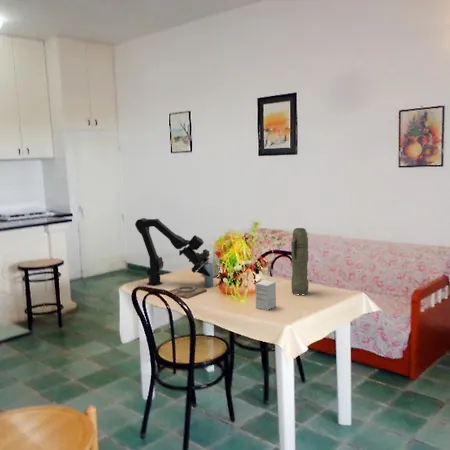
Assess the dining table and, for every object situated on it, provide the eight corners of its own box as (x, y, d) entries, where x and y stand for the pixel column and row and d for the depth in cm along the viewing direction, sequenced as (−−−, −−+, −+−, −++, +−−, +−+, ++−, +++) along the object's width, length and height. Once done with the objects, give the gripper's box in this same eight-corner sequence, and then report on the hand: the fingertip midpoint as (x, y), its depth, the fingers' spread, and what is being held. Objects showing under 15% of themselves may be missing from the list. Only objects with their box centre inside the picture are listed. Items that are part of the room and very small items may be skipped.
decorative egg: (221, 277, 298) (220, 253, 296) (201, 278, 298) (200, 254, 295) (221, 272, 310) (220, 249, 308) (201, 273, 310) (200, 250, 307)
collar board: (165, 293, 267) (165, 289, 267) (185, 287, 280) (185, 282, 279) (187, 298, 257) (187, 294, 257) (206, 291, 270) (206, 287, 269)
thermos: (286, 294, 261) (286, 229, 256) (298, 289, 270) (298, 226, 264) (300, 297, 255) (300, 231, 250) (312, 292, 264) (313, 227, 259)
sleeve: (202, 286, 280) (202, 264, 278) (208, 284, 284) (207, 262, 282) (209, 287, 277) (208, 265, 275) (215, 285, 281) (214, 263, 279)
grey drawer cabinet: (264, 304, 245) (263, 279, 244) (276, 306, 241) (276, 281, 239) (255, 308, 240) (254, 283, 238) (267, 310, 235) (267, 285, 233)
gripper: (196, 249, 269) (216, 269, 268) (205, 242, 287) (224, 261, 286) (183, 262, 272) (203, 282, 271) (192, 255, 290) (211, 274, 289)
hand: (211, 274), depth 279 cm, fingers closed on sleeve, 5 cm apart
